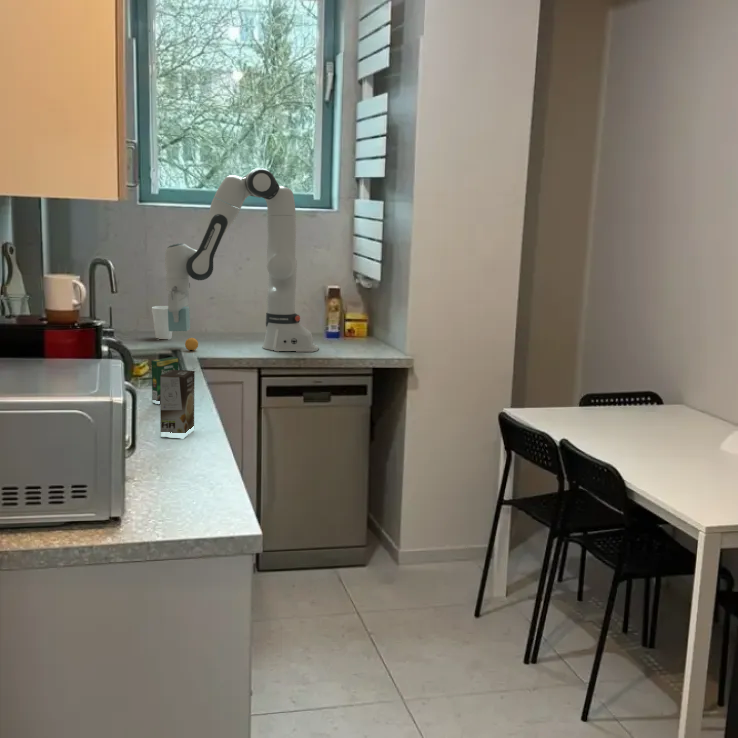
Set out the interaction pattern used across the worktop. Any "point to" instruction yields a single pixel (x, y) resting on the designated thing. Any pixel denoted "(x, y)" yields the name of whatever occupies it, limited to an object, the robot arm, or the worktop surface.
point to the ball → (191, 344)
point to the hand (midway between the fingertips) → (178, 320)
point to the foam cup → (161, 322)
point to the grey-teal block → (183, 320)
